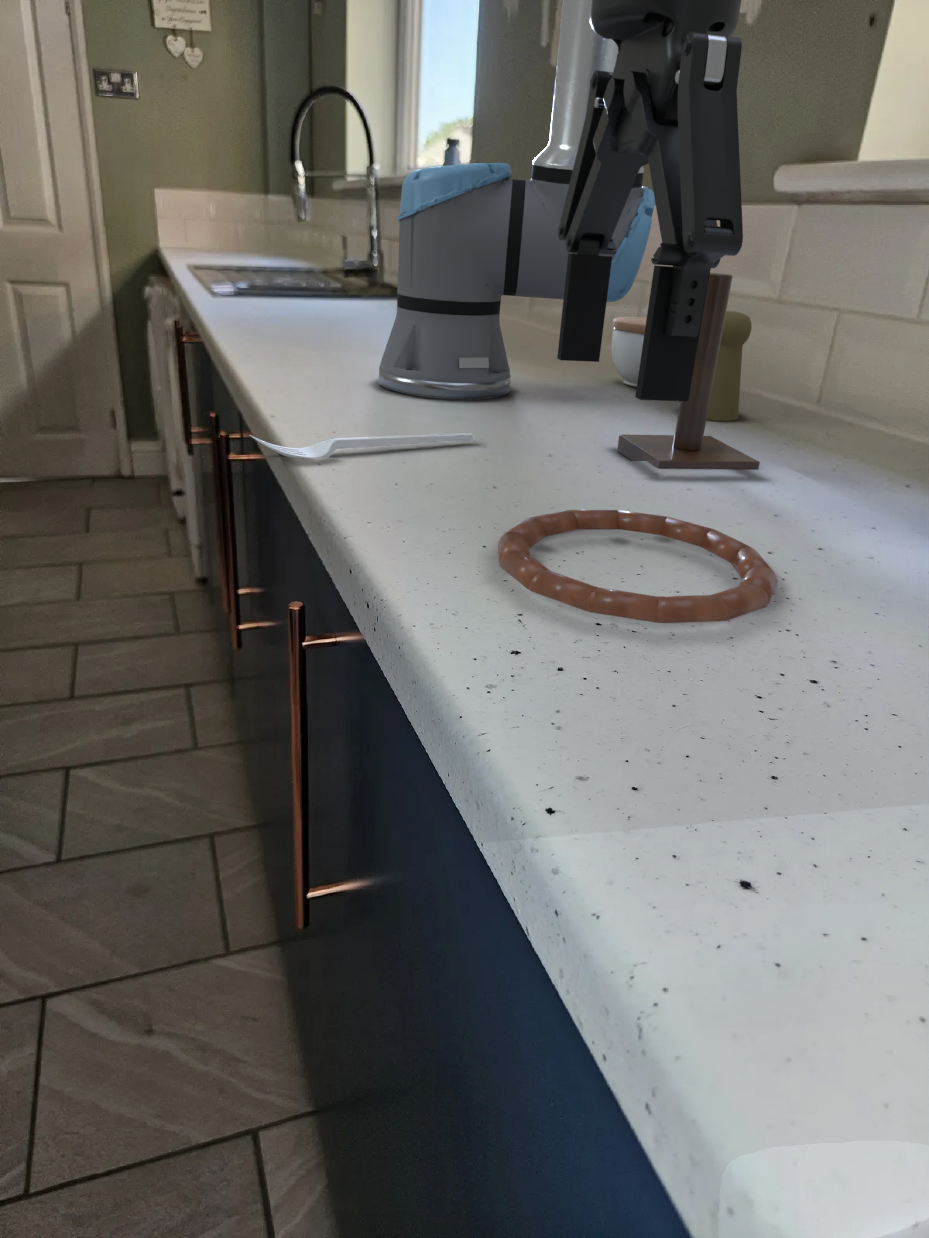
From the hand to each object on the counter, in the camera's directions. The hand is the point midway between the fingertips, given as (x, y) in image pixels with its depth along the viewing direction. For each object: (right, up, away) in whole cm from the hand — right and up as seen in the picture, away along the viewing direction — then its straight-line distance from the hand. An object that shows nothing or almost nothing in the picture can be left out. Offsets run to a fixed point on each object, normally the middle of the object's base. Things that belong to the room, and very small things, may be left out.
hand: (614, 378), depth 52 cm
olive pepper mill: (+18, +8, +45) cm, 49 cm away
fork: (-17, -1, +21) cm, 27 cm away
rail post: (+10, -1, +24) cm, 26 cm away
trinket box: (+15, +16, +61) cm, 65 cm away
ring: (+1, -11, -2) cm, 11 cm away
